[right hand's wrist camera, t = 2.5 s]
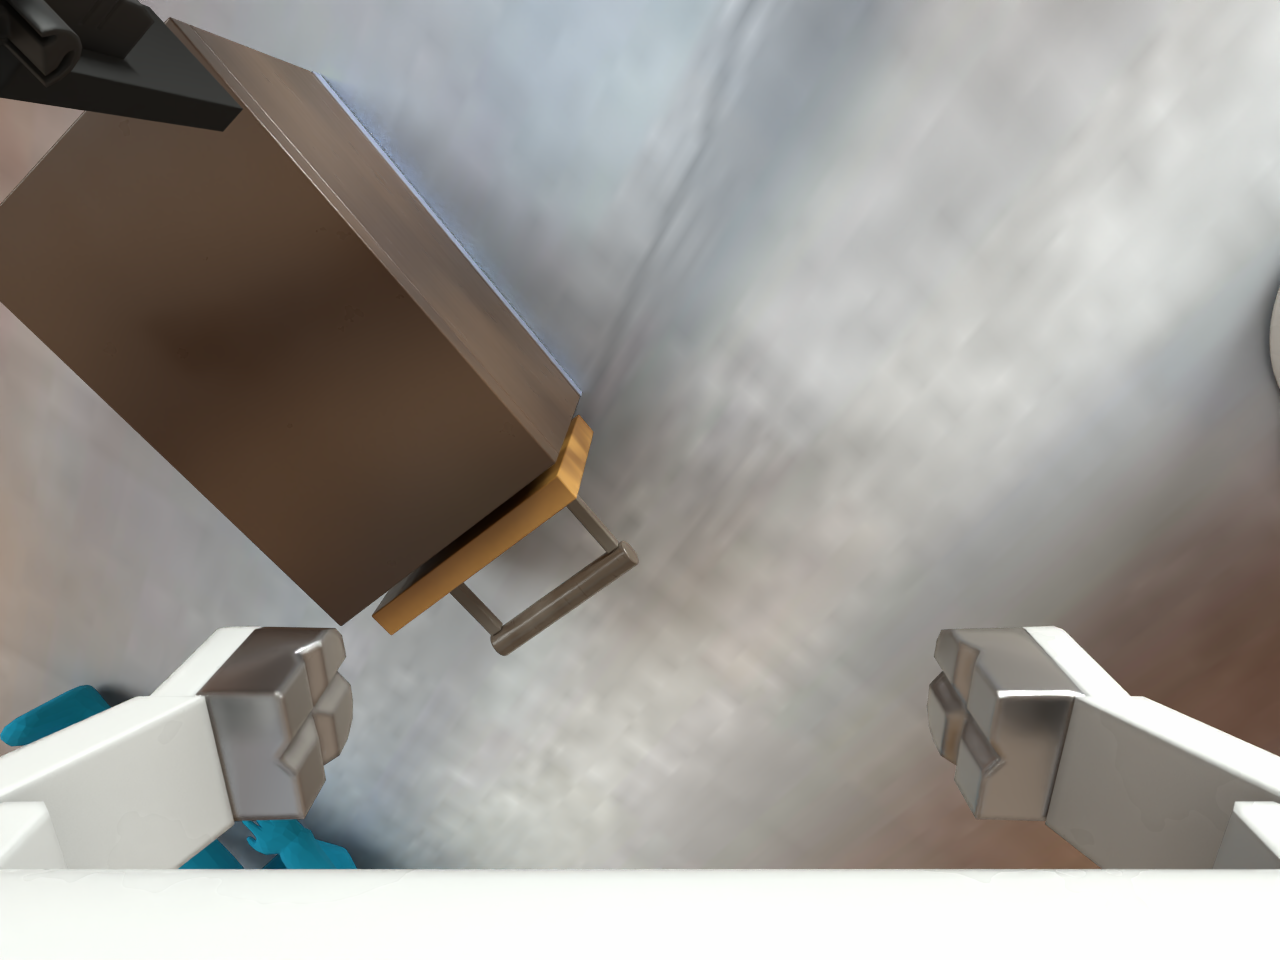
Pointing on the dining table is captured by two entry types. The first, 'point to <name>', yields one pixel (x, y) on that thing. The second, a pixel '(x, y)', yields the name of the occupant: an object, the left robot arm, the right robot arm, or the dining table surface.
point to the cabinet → (285, 325)
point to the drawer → (503, 533)
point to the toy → (271, 838)
